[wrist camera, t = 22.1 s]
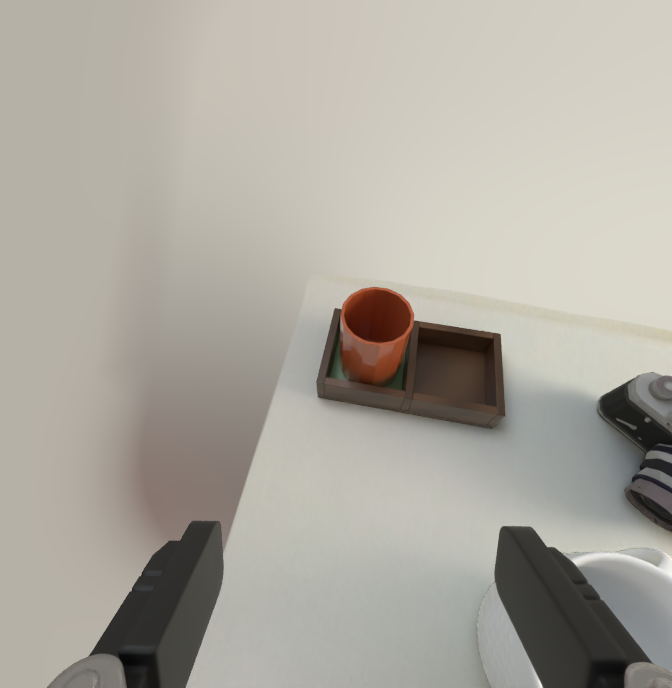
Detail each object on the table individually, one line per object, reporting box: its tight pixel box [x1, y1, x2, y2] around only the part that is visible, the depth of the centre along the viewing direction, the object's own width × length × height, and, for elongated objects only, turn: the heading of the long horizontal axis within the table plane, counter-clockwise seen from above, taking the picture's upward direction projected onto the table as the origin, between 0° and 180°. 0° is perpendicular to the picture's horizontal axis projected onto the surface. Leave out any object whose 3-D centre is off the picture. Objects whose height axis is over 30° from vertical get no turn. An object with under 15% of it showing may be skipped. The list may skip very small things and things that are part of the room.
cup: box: [340, 287, 414, 387], centre depth 37 cm, size 7×7×9 cm
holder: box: [317, 308, 505, 429], centre depth 39 cm, size 18×10×4 cm, turn 79°
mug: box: [477, 548, 672, 688], centre depth 23 cm, size 15×11×13 cm
